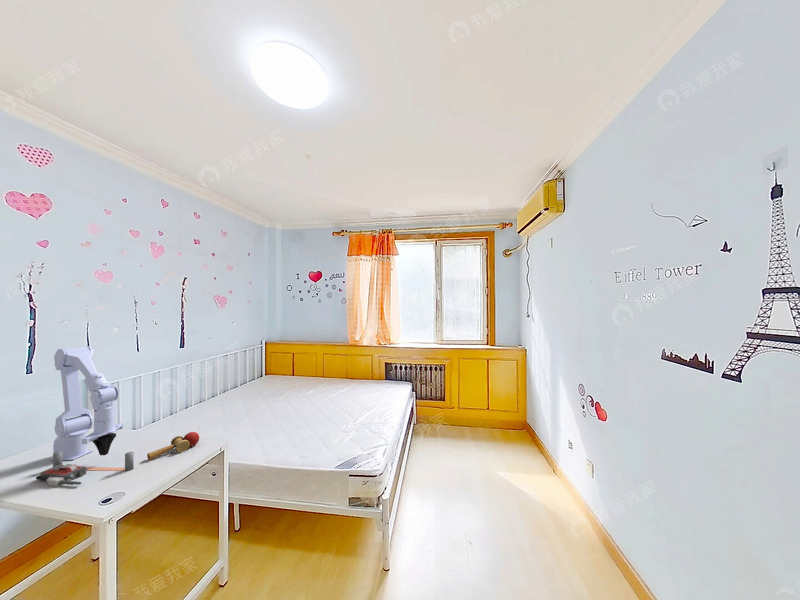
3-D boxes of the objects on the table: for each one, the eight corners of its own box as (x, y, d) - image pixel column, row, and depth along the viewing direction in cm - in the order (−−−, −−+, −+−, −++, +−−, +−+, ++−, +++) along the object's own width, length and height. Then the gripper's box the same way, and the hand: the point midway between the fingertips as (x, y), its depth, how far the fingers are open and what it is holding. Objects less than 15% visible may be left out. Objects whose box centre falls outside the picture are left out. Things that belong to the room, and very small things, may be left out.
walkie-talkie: (27, 485, 105) (76, 489, 103) (27, 472, 106) (76, 476, 103) (59, 471, 114) (105, 475, 111) (59, 459, 114) (105, 462, 111)
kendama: (154, 467, 119) (204, 443, 134) (150, 451, 119) (200, 428, 134) (147, 465, 123) (196, 442, 138) (143, 449, 123) (193, 428, 138)
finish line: (50, 470, 114) (51, 454, 115) (58, 466, 117) (58, 451, 117) (129, 471, 113) (129, 454, 113) (135, 467, 115) (135, 451, 116)
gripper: (94, 426, 112) (94, 464, 112) (131, 412, 126) (131, 446, 126) (76, 426, 112) (75, 464, 112) (114, 412, 127) (114, 445, 126)
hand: (103, 454), depth 119 cm, fingers closed
